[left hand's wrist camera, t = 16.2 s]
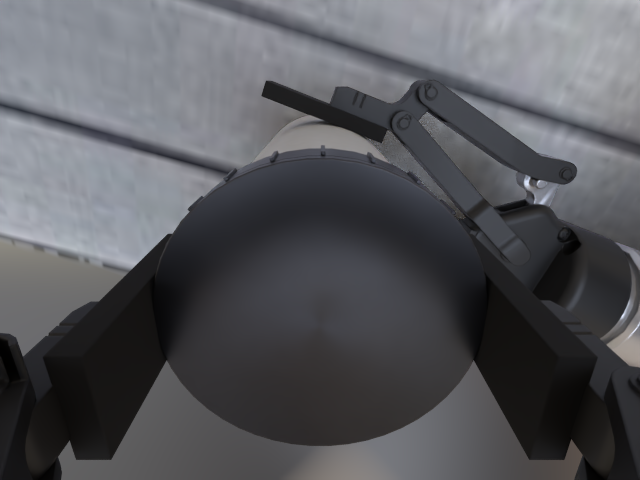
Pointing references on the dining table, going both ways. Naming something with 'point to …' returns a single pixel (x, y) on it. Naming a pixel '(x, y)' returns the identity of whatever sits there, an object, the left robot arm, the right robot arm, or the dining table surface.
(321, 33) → the dining table surface
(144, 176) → the dining table surface
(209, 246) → the lid
